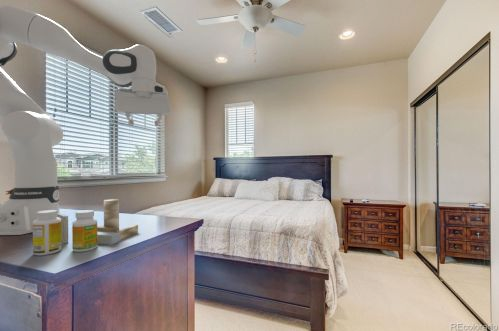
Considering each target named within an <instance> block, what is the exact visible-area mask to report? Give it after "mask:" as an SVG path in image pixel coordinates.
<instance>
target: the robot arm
mask: <svg viewBox="0 0 499 331" xmlns="http://www.w3.org/2000/svg"><path fill="white" fill-rule="evenodd" d="M16 43H19V44H23V45H26V46H29V47H30V48H33V49H36V50H38V51H42V52H44V53H46V54H49V55H52V56H55V57H58V58H61V59H63V60H67V61H69V62H73V63H74V64H77V65H80V66H82V67H84V68H86V69H89V70H92V71H94V72H96V73H98V74H100V75H102V76H104V77H106V78H107V79H108V80H110V81H111V83H113V84H114V85H116V86H118V87H119V88H117V89H116V90H115V92H114V97H115V102H114V110H115V111H116V112H117V113H118V114H124V115H125V117H126V119H127V120H128V123H127V124H128V125H129V126H134V125H135V124H134V123H135V122H134V120H133V119H132V118H130V117H131V114H133V115H134V114H137V115H157V117H158V118H157V120H154V126H155V127H160V122H161V121H162V119H163V116H170V115H171V114H172V112H173V111H172V103H171V100H170V97H169V91H168V89H167V88H166V87H164V86H162V85H158V84H157V80H156V75H157V58H156V55H155V52H154V50H152V49H151V48H149V46H147V45H143V44H135V45H133V46H131V47H129V48H125V49H124V48H123V49H109V50H107V52H106V53H104V54H103V56H101V55H98V54H96V53H94V52H93V51H90V50H88V49H87V48H85V47H84V46H83V45H82V44H81V43H80V42H78V41H77V40H76V39H75V38H74V37H73V36H72V35H71V33H70V32H69V31H68V30H67V29H66V28H64V27H63V26H62V25H60V24H59V23H57V22H55V21H54V20H52V19H50V18H48V17H45V16H43V15H41V14H38V13H36V12H33V11H30V10H28V9H24V8H22V7H18V6H14V5H9V4H4V5H1V6H0V119H1V120H2V122H1V130H2V132H3V133H4V136H6V138H7V140H8V144H9V147H10V150H11V154H12V157H13V162H14V177H15V178H14V181H15V182H14V188H12V189H10V190H5V195H9V197H8V199H7V200H5V201H4V202H3V203H2V204H0V236H21V235H25V234H26V235H27V234H30V233H33V222H34V221H35V220H37V212H39V211H45V210H57V213H60V214H61V211H60V206H59V202H60V201H59V200H60V186H59V185H58V163H57V161H56V159H55V156H54V155H55V154H54V150H53V147H54V146H57V145H59V144H60V143H61V142H62V141H63V138H64V131H63V129H62V127H61V126H60V125H59V124H58V122H56V120H54V118H52V116H50V115H49V113H47V112H46V111H45V110H44V109H43V108H42V107H41V106H39V105H38V103H36V102H35V100H33V99H32V98H31V97H30V96H28V94H27V93H26V92H25V91H24V90H23V89H22V88H21V87H20V86H19V85H18V84H17V82H16V81H14V80H13V78H11V77H10V75H9V74H7V72H6V71H5V70H4V69H3V68H2V66H3V67H4V66H5V65H6V64H7V63H8V62H10V61H12V60H13V59H14V58H15V57H16V56H17V54H18V46H17V44H16ZM130 87H131V88H130Z"/></svg>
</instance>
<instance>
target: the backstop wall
mask: <svg viewBox="0 0 499 331" xmlns="http://www.w3.org/2000/svg"><path fill="white" fill-rule="evenodd" d="M120 241H121V240H120V233H118V232H104V231H97V245H98V244H99V245H111V246H112V245H115V244H116V243H119V242H120Z"/></svg>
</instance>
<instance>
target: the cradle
mask: <svg viewBox="0 0 499 331" xmlns="http://www.w3.org/2000/svg"><path fill="white" fill-rule="evenodd" d="M97 231H104V232H118V233H120V241H121V240H123V239H126V238H128V237H131V236H134V235H136V234H139V224H134V225H131V226H127V227H125V228H122V229H120V227H119V228H112V227H104V225H101V226H97Z"/></svg>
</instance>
